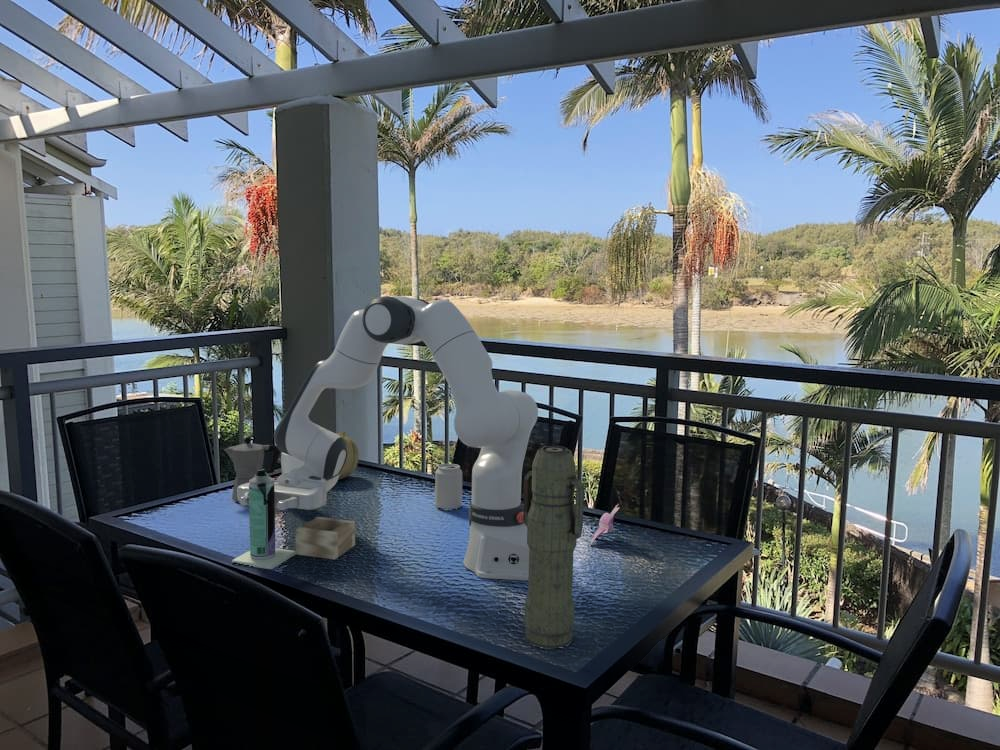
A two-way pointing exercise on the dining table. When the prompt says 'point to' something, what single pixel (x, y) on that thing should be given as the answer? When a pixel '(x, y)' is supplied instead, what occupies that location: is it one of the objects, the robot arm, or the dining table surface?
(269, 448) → the coffeepot
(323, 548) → the can holder
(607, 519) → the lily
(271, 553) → the spray can
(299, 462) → the drinking glass
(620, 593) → the dining table surface
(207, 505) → the dining table surface
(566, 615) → the olive green cylinder
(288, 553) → the sage pad
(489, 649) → the dining table surface
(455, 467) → the can
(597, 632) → the dining table surface
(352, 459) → the cantaloupe
